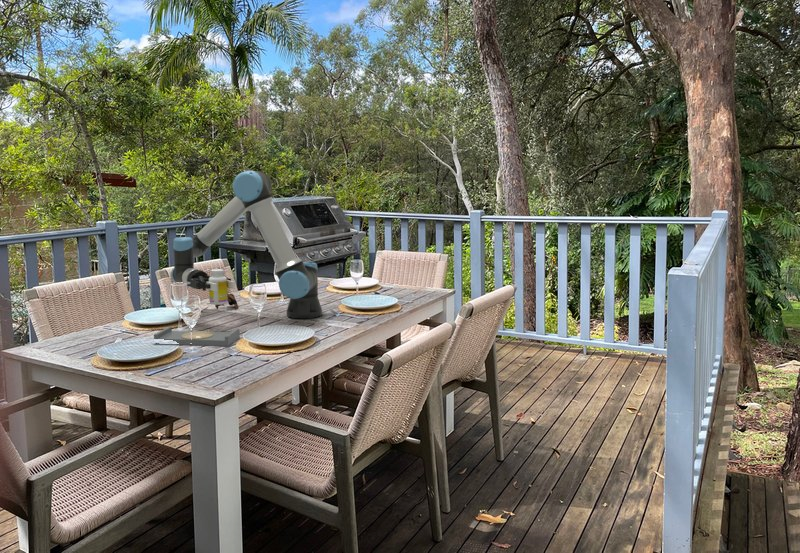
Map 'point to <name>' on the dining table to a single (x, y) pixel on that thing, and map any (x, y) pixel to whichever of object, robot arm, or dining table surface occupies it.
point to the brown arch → (230, 301)
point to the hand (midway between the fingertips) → (224, 286)
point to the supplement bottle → (218, 288)
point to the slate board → (199, 337)
